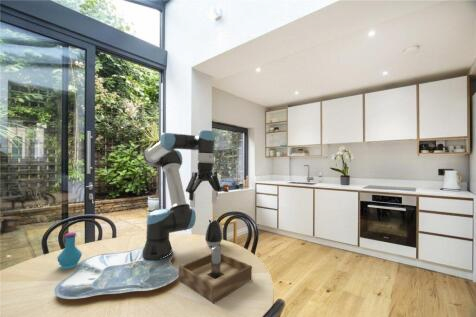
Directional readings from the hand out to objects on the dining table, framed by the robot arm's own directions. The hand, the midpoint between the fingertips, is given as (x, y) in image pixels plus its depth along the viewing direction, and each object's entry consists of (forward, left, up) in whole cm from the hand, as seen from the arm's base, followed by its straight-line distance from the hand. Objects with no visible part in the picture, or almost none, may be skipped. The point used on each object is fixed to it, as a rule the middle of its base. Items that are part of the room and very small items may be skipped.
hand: (203, 205), depth 108 cm
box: (+15, -5, -29) cm, 33 cm away
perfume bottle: (-45, -44, -30) cm, 69 cm away
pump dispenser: (-15, +21, -30) cm, 40 cm away
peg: (+15, -5, -29) cm, 33 cm away
